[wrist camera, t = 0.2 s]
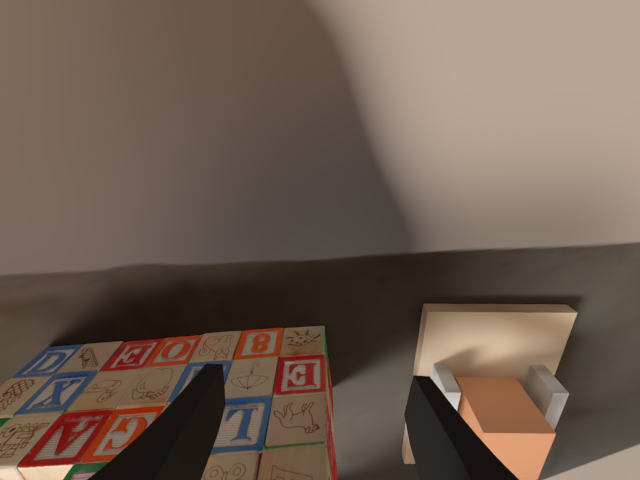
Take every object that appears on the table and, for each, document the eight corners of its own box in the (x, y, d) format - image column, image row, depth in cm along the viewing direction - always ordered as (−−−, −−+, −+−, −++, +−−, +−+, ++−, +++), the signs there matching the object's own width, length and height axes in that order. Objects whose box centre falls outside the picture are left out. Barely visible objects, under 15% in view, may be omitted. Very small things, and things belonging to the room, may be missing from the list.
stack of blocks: (79, 404, 26) (-107, 626, 15) (47, 344, 24) (-201, 554, 13) (334, 386, 25) (342, 611, 14) (326, 322, 23) (330, 529, 12)
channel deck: (515, 453, 28) (540, 498, 25) (401, 452, 28) (411, 496, 25) (566, 304, 22) (608, 337, 19) (423, 303, 22) (440, 336, 19)
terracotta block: (502, 419, 25) (537, 479, 21) (446, 419, 25) (470, 479, 21) (515, 377, 23) (556, 433, 19) (455, 376, 23) (483, 432, 19)
